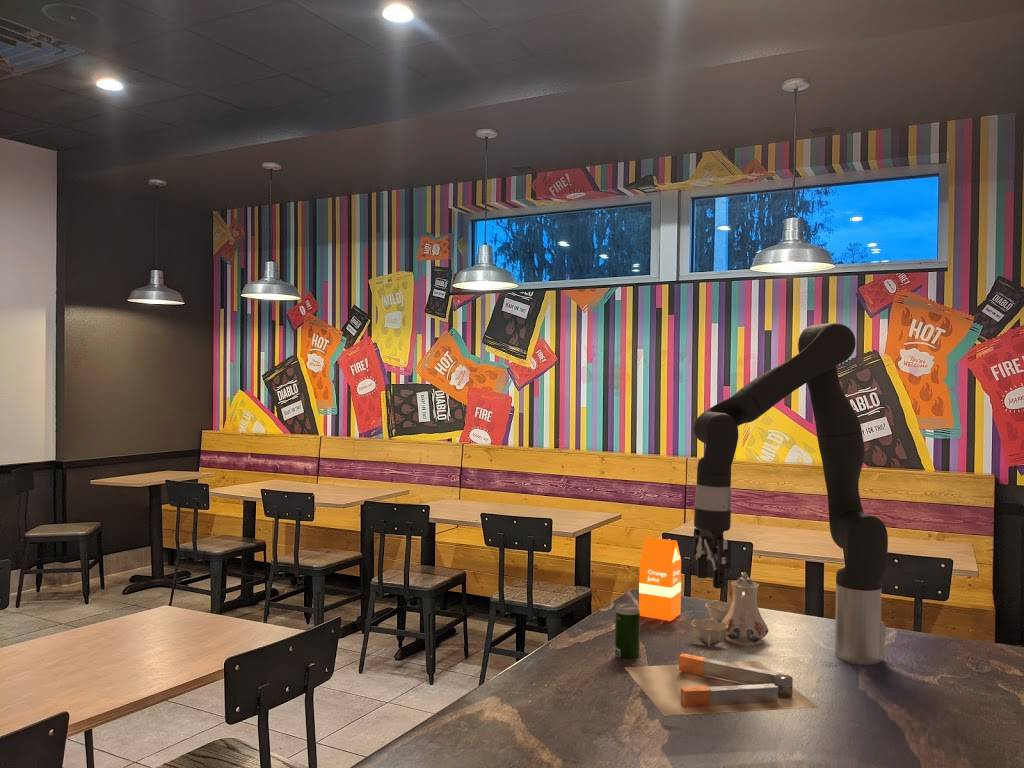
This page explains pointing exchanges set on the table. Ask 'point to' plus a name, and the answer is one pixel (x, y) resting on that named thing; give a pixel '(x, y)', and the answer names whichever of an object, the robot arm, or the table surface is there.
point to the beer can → (627, 631)
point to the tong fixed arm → (728, 695)
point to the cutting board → (668, 681)
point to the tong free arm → (736, 673)
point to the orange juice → (660, 579)
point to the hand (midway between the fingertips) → (709, 582)
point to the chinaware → (733, 617)
